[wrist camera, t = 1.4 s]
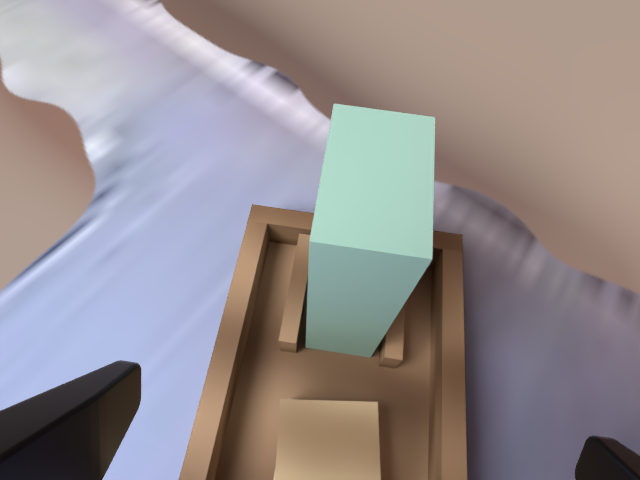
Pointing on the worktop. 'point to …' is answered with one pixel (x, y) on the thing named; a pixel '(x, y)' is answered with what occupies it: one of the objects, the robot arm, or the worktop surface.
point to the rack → (330, 363)
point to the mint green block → (369, 226)
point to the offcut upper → (327, 440)
